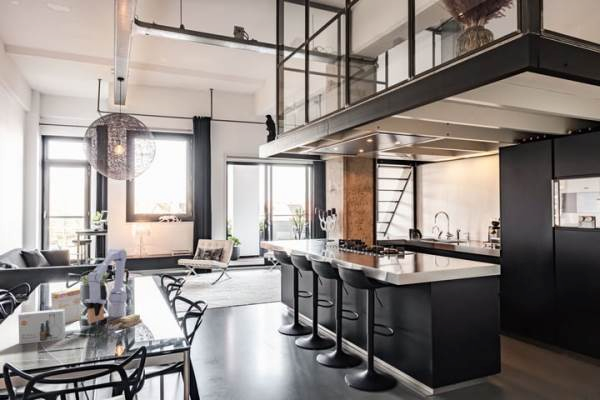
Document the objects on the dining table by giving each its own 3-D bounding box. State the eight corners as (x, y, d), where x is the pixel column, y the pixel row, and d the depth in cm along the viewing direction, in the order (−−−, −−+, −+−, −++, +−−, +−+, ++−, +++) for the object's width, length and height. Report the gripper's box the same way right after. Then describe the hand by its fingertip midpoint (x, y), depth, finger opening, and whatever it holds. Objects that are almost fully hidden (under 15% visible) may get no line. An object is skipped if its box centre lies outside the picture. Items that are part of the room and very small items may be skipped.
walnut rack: (103, 326, 245) (103, 322, 245) (118, 321, 256) (118, 317, 256) (129, 329, 238) (129, 324, 238) (143, 323, 250) (143, 319, 250)
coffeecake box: (75, 318, 267) (74, 288, 267) (81, 319, 263) (80, 289, 264) (51, 324, 254) (50, 292, 254) (57, 325, 250) (57, 293, 251)
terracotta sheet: (87, 323, 240) (87, 309, 240) (101, 318, 249) (100, 305, 249) (90, 323, 239) (89, 309, 239) (103, 318, 249) (103, 305, 249)
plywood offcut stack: (118, 326, 241) (118, 318, 242) (132, 321, 252) (132, 313, 252) (128, 327, 239) (128, 319, 239) (141, 321, 249) (141, 314, 249)
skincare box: (18, 344, 216) (17, 314, 216) (22, 341, 221) (21, 312, 222) (63, 340, 222) (62, 310, 222) (65, 337, 227) (65, 308, 228)
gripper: (80, 293, 243) (80, 316, 243) (99, 294, 238) (99, 317, 238) (89, 291, 250) (90, 313, 250) (108, 291, 245) (109, 314, 245)
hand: (95, 315), depth 244 cm, fingers closed on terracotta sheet, 2 cm apart
